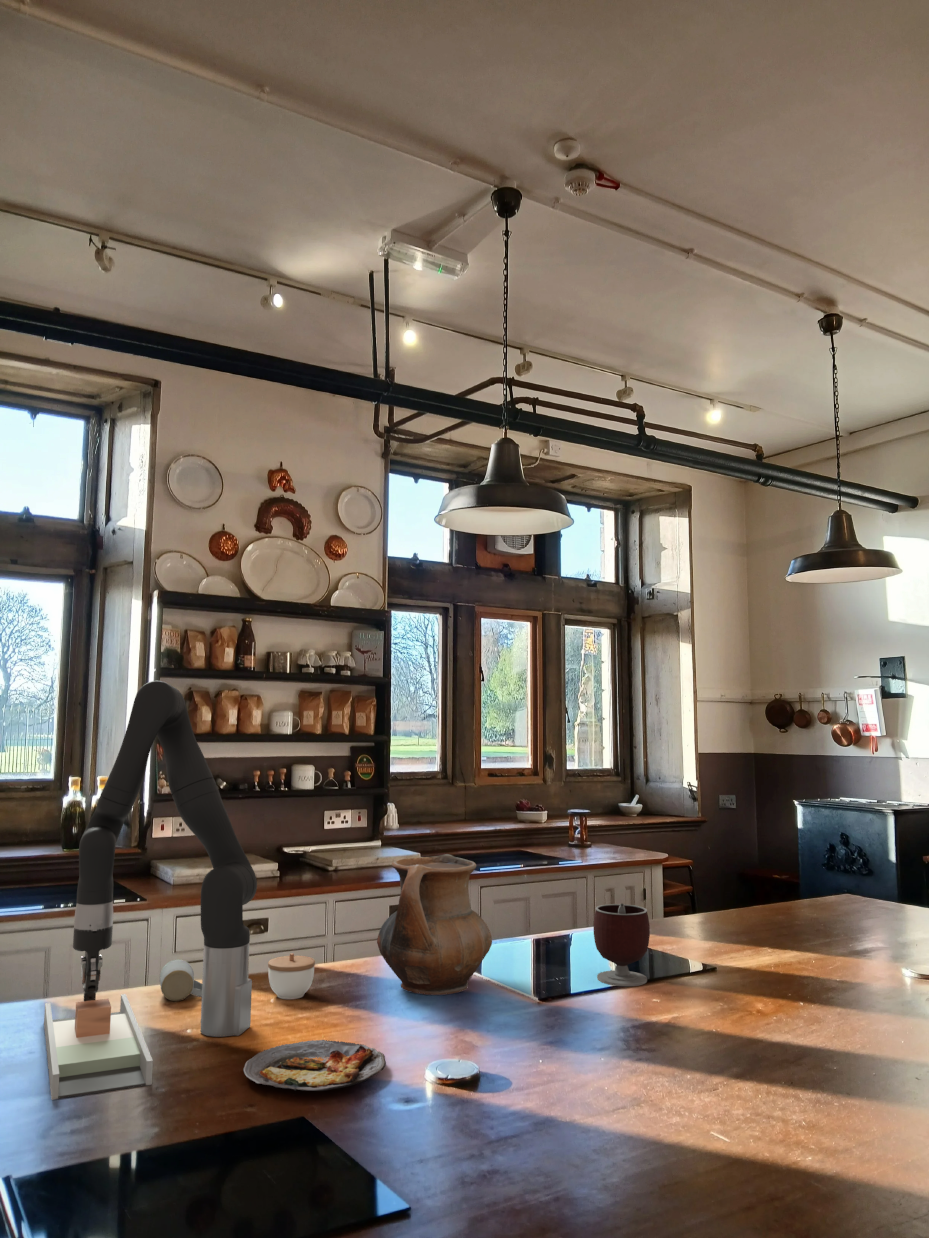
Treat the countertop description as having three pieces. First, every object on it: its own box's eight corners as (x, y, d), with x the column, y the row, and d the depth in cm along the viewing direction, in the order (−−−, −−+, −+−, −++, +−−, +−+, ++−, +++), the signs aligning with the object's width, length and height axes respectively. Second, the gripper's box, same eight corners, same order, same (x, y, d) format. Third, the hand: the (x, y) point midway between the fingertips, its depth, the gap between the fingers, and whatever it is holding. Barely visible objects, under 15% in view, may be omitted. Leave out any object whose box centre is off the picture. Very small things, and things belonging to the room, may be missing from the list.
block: (74, 1028, 183) (76, 1002, 183) (107, 1024, 185) (108, 998, 186) (76, 1037, 177) (77, 1010, 178) (109, 1033, 180) (111, 1006, 181)
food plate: (405, 1059, 174) (404, 1039, 175) (350, 1109, 152) (350, 1086, 153) (287, 1047, 182) (287, 1028, 183) (219, 1092, 160) (219, 1071, 161)
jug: (493, 1005, 208) (493, 869, 212) (368, 1004, 209) (371, 868, 212) (490, 968, 241) (491, 850, 244) (383, 966, 241) (385, 849, 244)
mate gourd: (593, 970, 239) (593, 891, 241) (648, 973, 237) (647, 893, 239) (593, 987, 223) (593, 902, 226) (652, 990, 222) (651, 904, 224)
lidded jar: (291, 986, 222) (292, 946, 223) (323, 994, 216) (324, 952, 217) (257, 996, 214) (258, 954, 215) (289, 1005, 207) (291, 961, 208)
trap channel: (43, 1022, 194) (45, 1002, 194) (124, 1013, 201) (125, 993, 201) (51, 1099, 154) (52, 1074, 155) (151, 1084, 161) (152, 1060, 162)
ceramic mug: (159, 1004, 207) (162, 968, 208) (158, 994, 215) (160, 959, 216) (208, 1000, 211) (210, 965, 212) (205, 990, 219) (207, 957, 220)
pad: (53, 1061, 172) (54, 1047, 172) (133, 1050, 178) (133, 1036, 178) (55, 1080, 163) (56, 1065, 163) (139, 1067, 169) (140, 1053, 169)
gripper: (72, 919, 197) (67, 1004, 195) (75, 932, 185) (70, 1022, 183) (110, 916, 200) (105, 1000, 198) (115, 929, 188) (111, 1018, 186)
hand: (88, 1010), depth 191 cm, fingers closed
